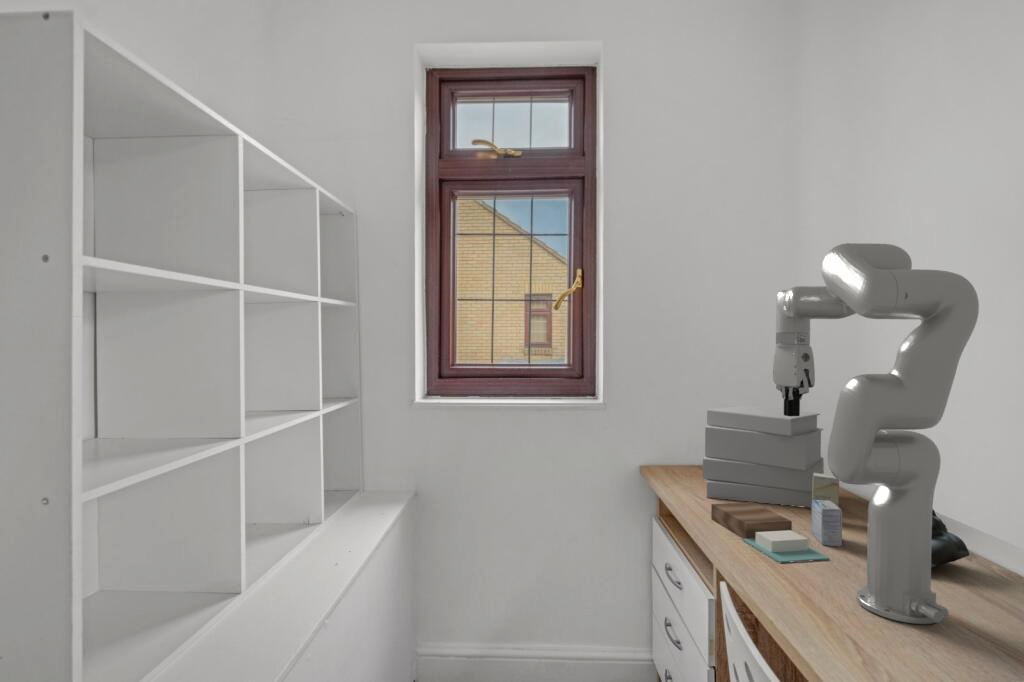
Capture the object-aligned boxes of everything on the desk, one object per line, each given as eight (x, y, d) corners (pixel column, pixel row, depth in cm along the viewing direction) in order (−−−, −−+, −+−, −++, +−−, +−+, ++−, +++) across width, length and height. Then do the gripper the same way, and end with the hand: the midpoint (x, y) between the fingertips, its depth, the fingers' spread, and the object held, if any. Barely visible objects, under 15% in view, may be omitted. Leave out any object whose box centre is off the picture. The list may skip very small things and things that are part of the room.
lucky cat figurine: (903, 575, 118) (872, 506, 124) (885, 577, 129) (857, 513, 135) (983, 559, 116) (947, 489, 122) (957, 562, 126) (926, 498, 133)
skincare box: (811, 521, 153) (812, 475, 152) (811, 517, 156) (812, 472, 156) (838, 525, 150) (839, 478, 150) (838, 520, 154) (839, 474, 153)
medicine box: (842, 547, 134) (842, 509, 134) (821, 545, 135) (821, 508, 135) (830, 535, 142) (831, 500, 142) (811, 534, 143) (811, 499, 143)
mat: (829, 559, 126) (829, 558, 126) (779, 563, 124) (779, 561, 124) (787, 537, 140) (787, 536, 140) (742, 540, 138) (742, 538, 138)
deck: (791, 537, 140) (791, 521, 140) (746, 540, 138) (746, 523, 138) (752, 517, 156) (752, 502, 156) (711, 519, 154) (711, 504, 154)
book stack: (836, 515, 159) (837, 421, 159) (701, 501, 171) (702, 413, 171) (820, 488, 187) (821, 408, 187) (705, 478, 199) (706, 403, 199)
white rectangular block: (790, 530, 137) (790, 540, 137) (755, 532, 135) (755, 542, 135) (807, 539, 131) (807, 550, 131) (771, 541, 129) (771, 552, 129)
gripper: (828, 341, 135) (827, 420, 135) (786, 340, 150) (785, 411, 150) (799, 340, 134) (798, 420, 134) (760, 340, 149) (759, 412, 149)
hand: (791, 415), depth 142 cm, fingers closed
